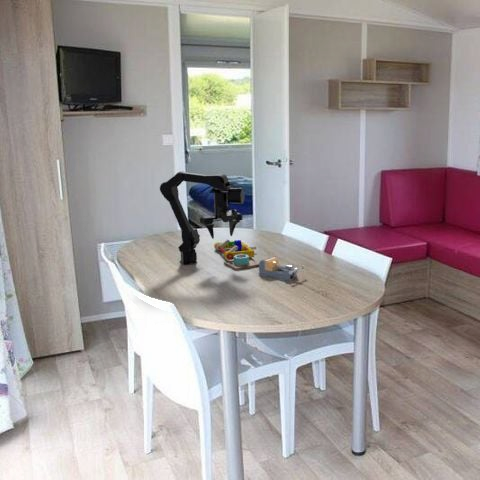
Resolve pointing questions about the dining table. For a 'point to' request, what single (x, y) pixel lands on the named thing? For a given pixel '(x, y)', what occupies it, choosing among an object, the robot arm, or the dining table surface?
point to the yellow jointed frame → (234, 249)
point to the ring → (241, 260)
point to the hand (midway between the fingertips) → (222, 237)
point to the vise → (277, 269)
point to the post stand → (240, 267)
